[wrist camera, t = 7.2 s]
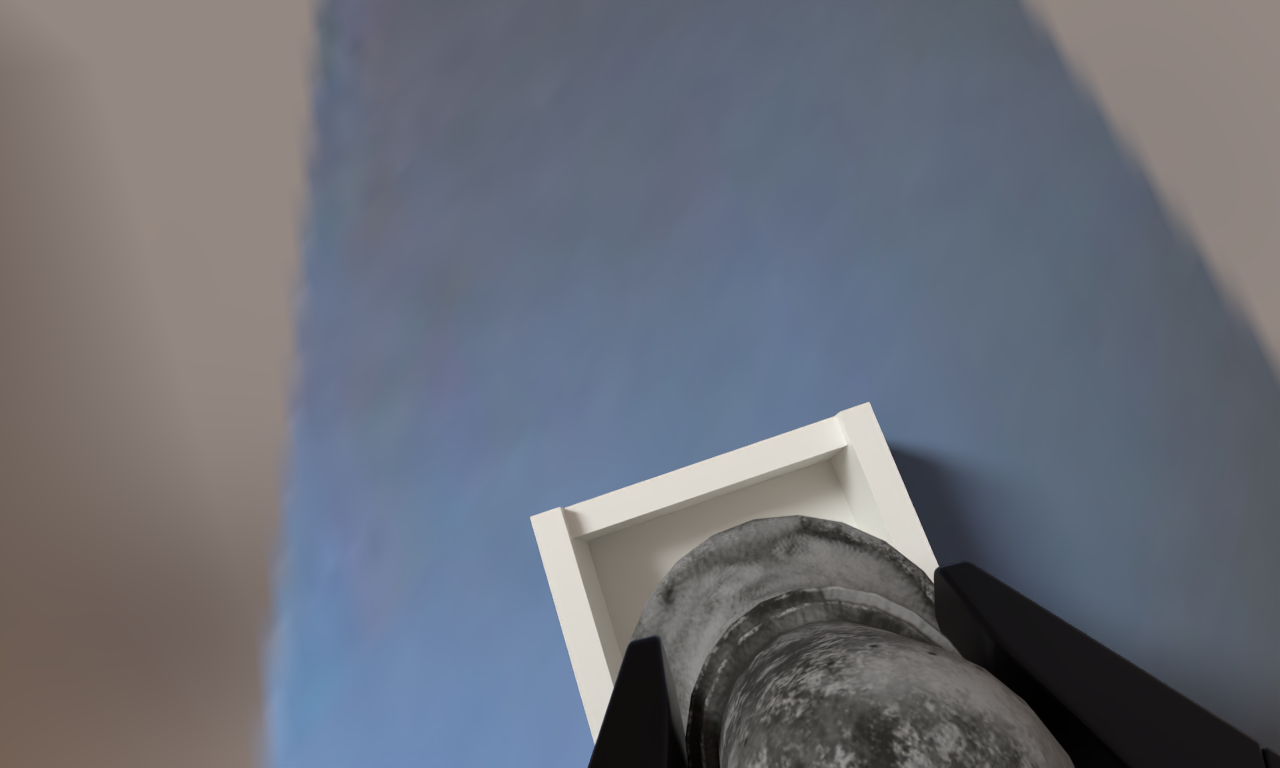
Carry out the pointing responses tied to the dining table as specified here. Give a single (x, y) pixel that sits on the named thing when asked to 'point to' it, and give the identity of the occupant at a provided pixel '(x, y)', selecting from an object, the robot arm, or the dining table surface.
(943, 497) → the dining table surface
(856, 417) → the box
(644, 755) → the robot arm
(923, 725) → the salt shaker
